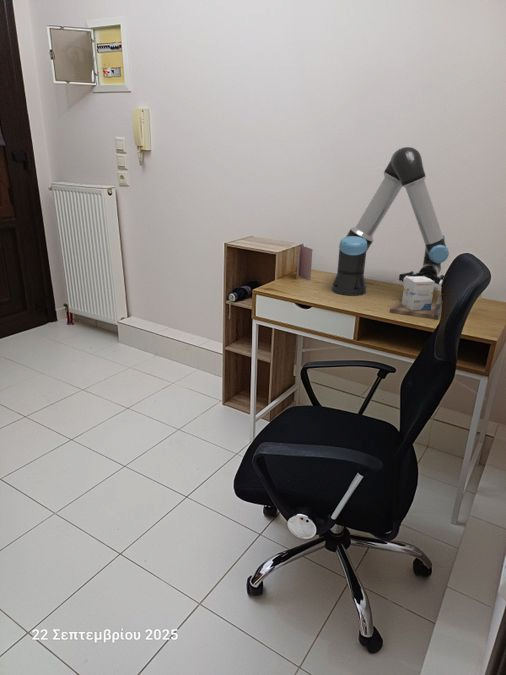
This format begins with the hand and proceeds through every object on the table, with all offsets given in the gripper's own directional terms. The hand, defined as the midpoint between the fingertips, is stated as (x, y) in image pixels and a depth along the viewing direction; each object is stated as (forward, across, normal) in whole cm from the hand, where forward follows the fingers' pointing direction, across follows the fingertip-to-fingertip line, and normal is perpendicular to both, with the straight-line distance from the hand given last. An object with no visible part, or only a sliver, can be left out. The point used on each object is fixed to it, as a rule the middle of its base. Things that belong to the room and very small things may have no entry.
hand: (421, 284), depth 194 cm
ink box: (+5, 0, -8) cm, 10 cm away
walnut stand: (+5, 0, -10) cm, 11 cm away
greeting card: (-23, +58, -10) cm, 63 cm away
